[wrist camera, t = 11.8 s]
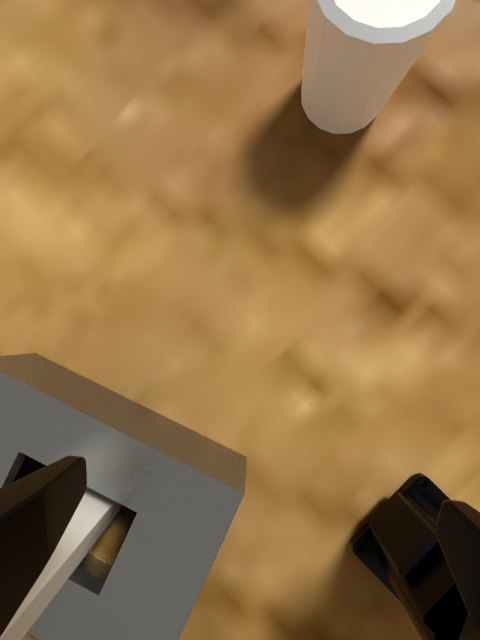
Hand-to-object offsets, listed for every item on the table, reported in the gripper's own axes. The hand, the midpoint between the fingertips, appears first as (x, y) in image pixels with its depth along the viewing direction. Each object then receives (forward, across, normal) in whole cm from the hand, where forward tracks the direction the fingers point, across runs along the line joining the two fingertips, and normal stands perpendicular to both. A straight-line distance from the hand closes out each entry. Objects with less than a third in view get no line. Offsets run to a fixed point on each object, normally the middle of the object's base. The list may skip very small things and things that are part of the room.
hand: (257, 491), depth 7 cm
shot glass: (+17, -4, -17) cm, 25 cm away
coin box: (+10, +10, +9) cm, 17 cm away
